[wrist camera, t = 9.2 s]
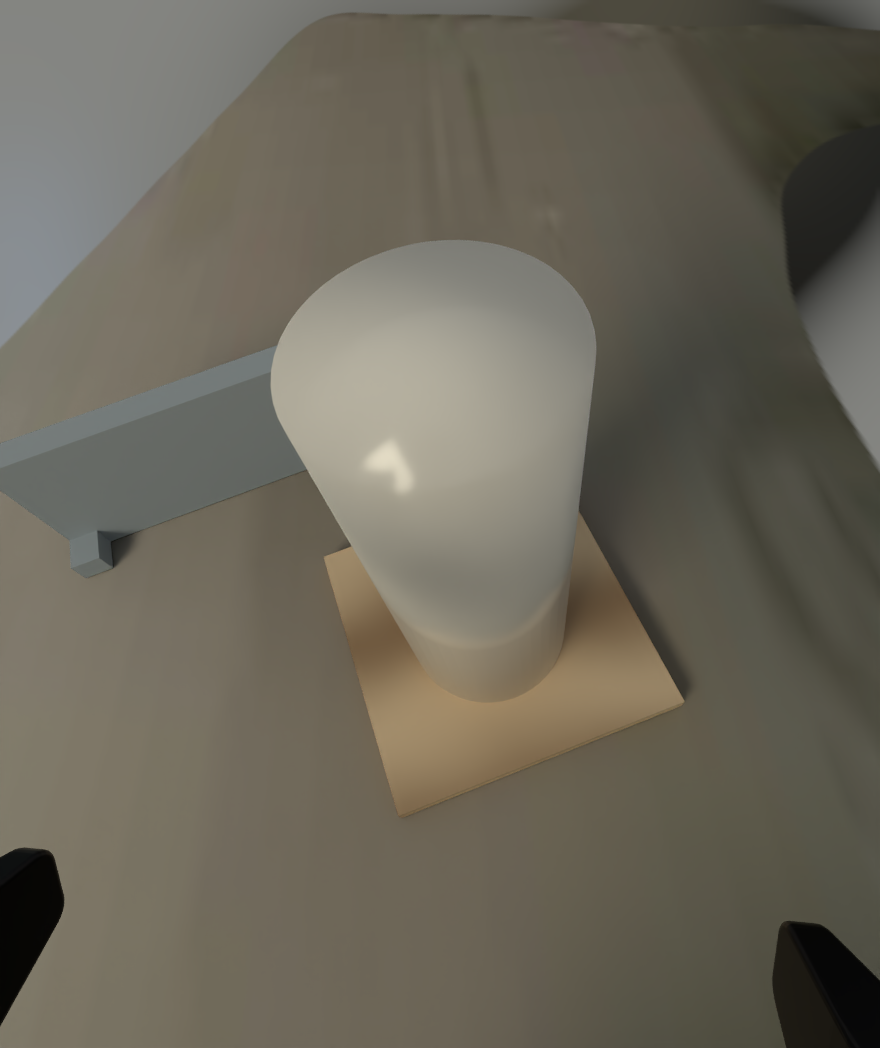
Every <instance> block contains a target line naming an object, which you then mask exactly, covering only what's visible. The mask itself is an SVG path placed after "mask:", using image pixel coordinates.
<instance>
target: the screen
mask: <svg viewBox="0 0 880 1048" xmlns="http://www.w3.org/2000/svg"><path fill="white" fill-rule="evenodd" d="M277 346H278V345H276V346H274V347H271V348H268V349H265V350H262V351H259V352H257V353H254V354H251V355H248V356H245V357H243V358H240V359H237V360H234V361H231V362H228V363H226V364H223V365H220V366H217V367H214V368H211V369H209V370H206V371H203V372H200V373H197V374H195V375H192V376H189V377H186V378H183V379H180V380H178V381H175V382H172V383H169V384H166V385H163V386H161V387H158V388H155V389H152V390H149V391H147V392H144V393H141V394H138V395H135V396H132V397H130V398H127V399H124V400H121V401H118V402H115V403H113V404H110V405H107V406H104V407H101V408H98V409H96V410H93V411H90V412H87V413H84V414H82V415H79V416H76V417H73V418H70V419H67V420H65V421H62V422H59V423H56V424H53V425H50V426H48V427H45V428H42V429H39V430H36V431H34V432H31V433H28V434H25V435H22V436H19V437H17V438H14V439H11V440H8V441H5V442H2V443H0V491H2V492H3V493H4V494H6V495H7V496H8V497H10V498H11V499H13V500H14V501H15V502H17V503H18V504H20V505H21V506H22V507H24V508H25V509H27V510H28V511H29V512H31V513H32V514H33V515H35V516H36V517H38V518H39V519H40V520H42V521H43V522H45V523H46V524H47V525H49V526H50V527H52V528H53V529H54V530H56V531H57V532H58V533H60V534H61V535H63V536H64V537H65V538H67V539H68V540H70V559H71V569H73V570H74V571H76V572H77V573H79V574H80V575H82V576H83V577H85V578H88V577H90V576H93V575H96V574H99V573H101V572H104V571H107V570H109V569H112V568H113V561H112V550H111V541H113V540H116V539H119V538H121V537H124V536H127V535H129V534H132V533H135V532H138V531H140V530H143V529H146V528H149V527H151V526H154V525H157V524H159V523H162V522H165V521H168V520H170V519H173V518H176V517H179V516H181V515H184V514H187V513H189V512H192V511H195V510H198V509H200V508H203V507H206V506H209V505H211V504H214V503H217V502H220V501H222V500H225V499H228V498H230V497H233V496H236V495H239V494H241V493H244V492H247V491H250V490H252V489H255V488H258V487H260V486H263V485H266V484H269V483H271V482H274V481H277V480H280V479H282V478H285V477H288V476H291V475H293V474H296V473H299V472H301V471H304V470H307V469H306V467H305V465H304V464H303V462H302V460H301V458H300V457H299V455H298V453H297V452H296V450H295V448H294V446H293V445H292V443H291V441H290V440H289V438H288V436H287V434H286V433H285V431H284V429H283V427H282V425H281V423H280V421H279V419H278V417H277V414H276V411H275V408H274V405H273V401H272V394H271V369H272V363H273V358H274V354H275V351H276V348H277Z"/></svg>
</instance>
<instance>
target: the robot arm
mask: <svg viewBox="0 0 880 1048" xmlns="http://www.w3.org/2000/svg"><path fill="white" fill-rule="evenodd" d="M63 907H64V894H63V890H62V886H61V882H60V878H59V874H58V870H57V866H56V862H55V859H54V856H53V854H52V853H51V852H50V851H48V850H44V849H34V848H18V849H15V850H13V851H11V852H9V853H7V854H5V855H4V856H2V857H0V1026H1V1024H2V1022H3V1020H4V1018H5V1017H6V1015H7V1013H8V1011H9V1009H10V1008H11V1006H12V1004H13V1002H14V1001H15V999H16V997H17V995H18V993H19V992H20V990H21V988H22V986H23V984H24V983H25V981H26V979H27V977H28V975H29V974H30V972H31V970H32V968H33V966H34V965H35V963H36V961H37V959H38V957H39V956H40V954H41V952H42V950H43V949H44V947H45V945H46V943H47V941H48V940H49V938H50V936H51V934H52V932H53V931H54V929H55V927H56V925H57V923H58V922H59V919H60V917H61V914H62V912H63ZM772 982H773V993H774V999H775V1004H776V1008H777V1012H778V1016H779V1020H780V1024H781V1028H782V1032H783V1036H784V1040H785V1044H786V1048H880V980H879V979H878V978H877V977H876V976H875V975H874V974H873V973H872V972H871V971H870V970H869V969H868V968H867V967H866V966H865V965H864V964H863V963H862V962H861V961H860V960H859V959H858V958H857V957H856V956H855V955H854V954H853V953H852V952H851V951H850V950H849V949H848V948H847V947H846V946H845V945H844V944H843V943H842V942H841V941H839V940H838V939H837V938H836V937H835V936H834V935H833V934H832V933H831V932H830V931H829V930H828V929H827V928H825V927H824V926H822V925H820V924H815V923H805V922H795V921H786V922H783V923H782V925H781V926H780V929H779V934H778V941H777V948H776V955H775V962H774V969H773V977H772Z"/></svg>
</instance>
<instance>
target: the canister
mask: <svg viewBox="0 0 880 1048" xmlns="http://www.w3.org/2000/svg"><path fill="white" fill-rule="evenodd" d="M595 362H596V338H595V330H594V326H593V323H592V320H591V317H590V314H589V312H588V310H587V308H586V306H585V304H584V302H583V300H582V298H581V297H580V296H579V294H578V293H577V292H576V290H575V289H574V288H573V286H572V285H571V284H570V283H569V282H568V281H567V280H566V279H565V278H563V277H562V276H561V275H560V274H559V273H558V272H556V271H555V270H554V269H552V268H551V267H550V266H548V265H547V264H545V263H543V262H541V261H540V260H538V259H536V258H534V257H532V256H530V255H528V254H525V253H523V252H520V251H518V250H515V249H512V248H508V247H505V246H501V245H497V244H492V243H486V242H480V241H468V240H440V241H430V242H422V243H417V244H412V245H406V246H403V247H399V248H395V249H392V250H388V251H385V252H383V253H380V254H377V255H375V256H372V257H369V258H367V259H365V260H363V261H361V262H359V263H357V264H355V265H353V266H351V267H349V268H348V269H346V270H344V271H343V272H341V273H339V274H338V275H336V276H335V277H333V278H332V279H331V280H329V281H328V282H327V283H325V284H324V285H323V286H321V287H320V288H319V289H318V290H317V291H316V292H315V293H314V294H312V295H311V296H310V297H309V298H308V299H307V300H306V302H305V303H304V304H303V305H302V306H301V307H300V308H299V309H298V311H297V312H296V313H295V315H294V316H293V318H292V319H291V320H290V322H289V323H288V325H287V327H286V329H285V330H284V332H283V334H282V336H281V338H280V340H279V343H278V346H277V348H276V351H275V354H274V358H273V363H272V369H271V394H272V401H273V405H274V408H275V411H276V414H277V417H278V419H279V421H280V423H281V425H282V427H283V429H284V431H285V433H286V434H287V436H288V438H289V440H290V441H291V443H292V445H293V446H294V448H295V450H296V452H297V453H298V455H299V457H300V458H301V460H302V462H303V464H304V465H305V467H306V469H307V470H308V472H309V474H310V476H311V477H312V479H313V481H314V482H315V484H316V486H317V488H318V489H319V491H320V493H321V494H322V496H323V498H324V500H325V501H326V503H327V505H328V506H329V508H330V510H331V512H332V513H333V515H334V517H335V518H336V520H337V522H338V524H339V525H340V527H341V529H342V530H343V532H344V534H345V536H346V537H347V539H348V541H349V542H350V544H351V546H352V548H353V549H354V551H355V553H356V554H357V556H358V558H359V560H360V561H361V563H362V565H363V566H364V568H365V570H366V572H367V573H368V575H369V577H370V578H371V580H372V582H373V584H374V585H375V587H376V589H377V590H378V592H379V594H380V596H381V597H382V599H383V601H384V602H385V604H386V606H387V608H388V609H389V611H390V613H391V614H392V616H393V618H394V620H395V621H396V623H397V625H398V626H399V628H400V630H401V632H402V633H403V635H404V637H405V638H406V640H407V642H408V644H409V645H410V647H411V649H412V650H413V652H414V654H415V656H416V657H417V659H418V661H419V662H420V664H421V666H422V668H423V669H424V670H425V672H426V673H427V675H428V676H429V677H430V678H431V679H432V680H433V681H434V682H435V683H436V684H437V685H439V686H440V687H441V688H442V689H444V690H445V691H447V692H449V693H451V694H452V695H455V696H457V697H459V698H462V699H466V700H469V701H474V702H482V703H493V702H500V701H505V700H509V699H513V698H515V697H518V696H520V695H522V694H524V693H526V692H528V691H529V690H531V689H533V688H534V687H535V686H536V685H538V684H539V683H540V682H541V681H542V680H543V679H544V678H545V677H546V676H547V675H548V673H549V672H550V671H551V669H552V668H553V666H554V665H555V663H556V661H557V659H558V657H559V654H560V651H561V648H562V644H563V639H564V631H565V623H566V614H567V605H568V597H569V588H570V579H571V571H572V562H573V553H574V545H575V536H576V527H577V519H578V510H579V501H580V493H581V484H582V475H583V467H584V458H585V449H586V441H587V432H588V423H589V415H590V406H591V397H592V389H593V380H594V371H595Z"/></svg>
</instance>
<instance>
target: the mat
mask: <svg viewBox="0 0 880 1048" xmlns="http://www.w3.org/2000/svg"><path fill="white" fill-rule="evenodd" d="M324 560H325V563H326V567H327V570H328V574H329V577H330V581H331V584H332V587H333V591H334V594H335V598H336V601H337V605H338V608H339V612H340V615H341V619H342V622H343V626H344V629H345V633H346V636H347V640H348V643H349V646H350V650H351V653H352V657H353V660H354V664H355V667H356V671H357V674H358V678H359V681H360V685H361V688H362V692H363V695H364V699H365V702H366V705H367V709H368V712H369V716H370V719H371V723H372V726H373V730H374V733H375V737H376V740H377V744H378V747H379V751H380V754H381V758H382V761H383V764H384V768H385V771H386V775H387V778H388V782H389V785H390V789H391V792H392V796H393V799H394V803H395V806H396V810H397V813H398V816H399V817H401V818H403V817H405V816H408V815H410V814H413V813H415V812H418V811H420V810H423V809H425V808H428V807H430V806H433V805H435V804H438V803H440V802H443V801H445V800H448V799H450V798H453V797H455V796H458V795H460V794H463V793H465V792H468V791H470V790H473V789H475V788H478V787H480V786H483V785H485V784H488V783H490V782H493V781H495V780H498V779H500V778H503V777H505V776H508V775H510V774H513V773H515V772H518V771H520V770H523V769H525V768H528V767H530V766H533V765H535V764H538V763H540V762H542V761H545V760H547V759H550V758H552V757H555V756H557V755H560V754H562V753H565V752H567V751H570V750H572V749H575V748H577V747H580V746H582V745H585V744H587V743H590V742H592V741H595V740H597V739H600V738H602V737H605V736H607V735H610V734H612V733H615V732H617V731H620V730H622V729H625V728H627V727H630V726H632V725H635V724H637V723H640V722H642V721H645V720H647V719H650V718H652V717H655V716H657V715H660V714H662V713H665V712H667V711H670V710H672V709H675V708H677V707H680V706H681V705H682V704H683V703H684V702H685V701H684V700H683V698H682V696H681V694H680V692H679V690H678V689H677V687H676V685H675V683H674V681H673V680H672V678H671V676H670V674H669V672H668V671H667V669H666V667H665V665H664V663H663V662H662V660H661V658H660V656H659V654H658V653H657V651H656V649H655V647H654V645H653V644H652V642H651V640H650V638H649V636H648V635H647V633H646V631H645V629H644V627H643V626H642V624H641V622H640V620H639V618H638V617H637V615H636V613H635V611H634V609H633V608H632V606H631V604H630V602H629V600H628V599H627V597H626V595H625V593H624V591H623V590H622V588H621V586H620V584H619V582H618V581H617V579H616V577H615V575H614V573H613V571H612V570H611V568H610V566H609V564H608V562H607V561H606V559H605V557H604V555H603V553H602V552H601V550H600V548H599V546H598V544H597V543H596V541H595V539H594V537H593V535H592V534H591V532H590V530H589V528H588V526H587V525H586V523H585V521H584V519H583V517H582V516H581V514H580V512H579V510H578V519H577V527H576V536H575V545H574V553H573V562H572V571H571V579H570V588H569V597H568V605H567V614H566V623H565V631H564V639H563V644H562V648H561V651H560V654H559V657H558V659H557V661H556V663H555V665H554V666H553V668H552V669H551V671H550V672H549V673H548V675H547V676H546V677H545V678H544V679H543V680H542V681H541V682H540V683H539V684H538V685H536V686H535V687H534V688H533V689H531V690H529V691H528V692H526V693H524V694H522V695H520V696H518V697H515V698H513V699H509V700H505V701H500V702H493V703H482V702H474V701H469V700H466V699H462V698H459V697H457V696H455V695H452V694H451V693H449V692H447V691H445V690H444V689H442V688H441V687H440V686H439V685H437V684H436V683H435V682H434V681H433V680H432V679H431V678H430V677H429V676H428V675H427V673H426V672H425V670H424V669H423V668H422V666H421V664H420V662H419V661H418V659H417V657H416V656H415V654H414V652H413V650H412V649H411V647H410V645H409V644H408V642H407V640H406V638H405V637H404V635H403V633H402V632H401V630H400V628H399V626H398V625H397V623H396V621H395V620H394V618H393V616H392V614H391V613H390V611H389V609H388V608H387V606H386V604H385V602H384V601H383V599H382V597H381V596H380V594H379V592H378V590H377V589H376V587H375V585H374V584H373V582H372V580H371V578H370V577H369V575H368V573H367V572H366V570H365V568H364V566H363V565H362V563H361V561H360V560H359V558H358V556H357V554H356V553H355V551H354V549H353V548H352V547H349V548H346V549H344V550H341V551H338V552H336V553H333V554H330V555H328V556H325V557H324Z"/></svg>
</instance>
